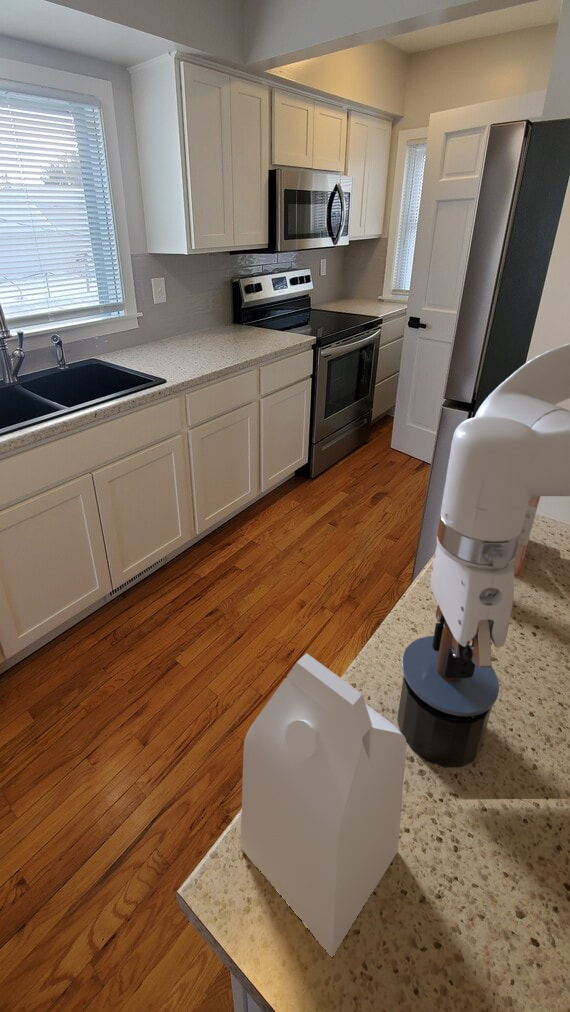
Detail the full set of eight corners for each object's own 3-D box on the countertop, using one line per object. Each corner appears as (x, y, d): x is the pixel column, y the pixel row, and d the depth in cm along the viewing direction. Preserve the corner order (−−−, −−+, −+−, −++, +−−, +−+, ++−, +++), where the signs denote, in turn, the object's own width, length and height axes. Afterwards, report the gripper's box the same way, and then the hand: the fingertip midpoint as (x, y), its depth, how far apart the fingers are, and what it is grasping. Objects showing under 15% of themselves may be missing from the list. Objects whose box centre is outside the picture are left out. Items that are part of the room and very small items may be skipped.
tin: (461, 695, 67) (471, 650, 64) (494, 770, 58) (507, 723, 55) (389, 695, 68) (394, 651, 64) (410, 770, 58) (418, 723, 55)
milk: (397, 851, 51) (428, 678, 40) (332, 959, 44) (348, 783, 33) (308, 768, 59) (314, 605, 48) (240, 848, 52) (229, 676, 41)
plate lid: (474, 641, 64) (485, 593, 60) (514, 720, 54) (530, 667, 50) (391, 642, 64) (397, 594, 61) (416, 720, 54) (425, 668, 51)
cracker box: (520, 578, 88) (546, 478, 79) (484, 567, 91) (505, 469, 82) (526, 537, 99) (550, 445, 90) (494, 529, 102) (513, 438, 93)
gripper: (559, 590, 43) (517, 728, 50) (479, 492, 58) (456, 610, 65) (472, 591, 43) (444, 728, 50) (416, 494, 58) (400, 611, 65)
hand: (451, 660), depth 58 cm, fingers closed on plate lid, 3 cm apart
